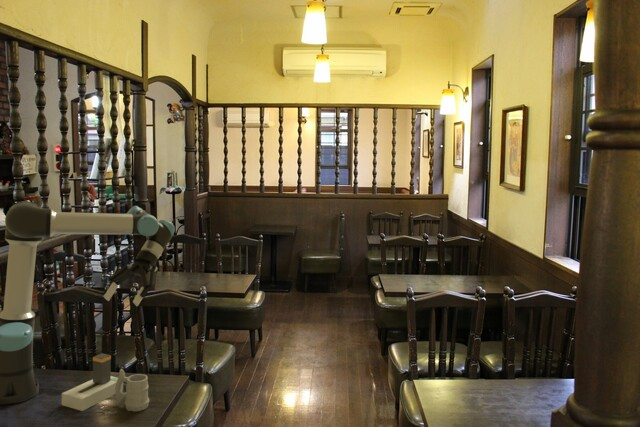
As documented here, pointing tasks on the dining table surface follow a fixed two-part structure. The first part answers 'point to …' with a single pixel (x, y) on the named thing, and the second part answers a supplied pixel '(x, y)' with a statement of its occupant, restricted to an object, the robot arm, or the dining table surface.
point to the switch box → (89, 394)
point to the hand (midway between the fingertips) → (120, 301)
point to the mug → (133, 391)
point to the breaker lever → (101, 368)
